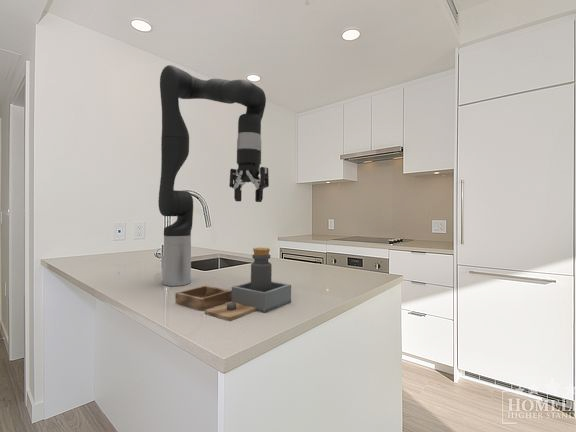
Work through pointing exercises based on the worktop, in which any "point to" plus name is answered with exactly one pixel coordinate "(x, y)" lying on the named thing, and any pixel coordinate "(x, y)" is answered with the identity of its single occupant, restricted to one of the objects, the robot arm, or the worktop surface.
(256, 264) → the bottle
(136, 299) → the worktop surface
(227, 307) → the corral lid
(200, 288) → the tray
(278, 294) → the bin
